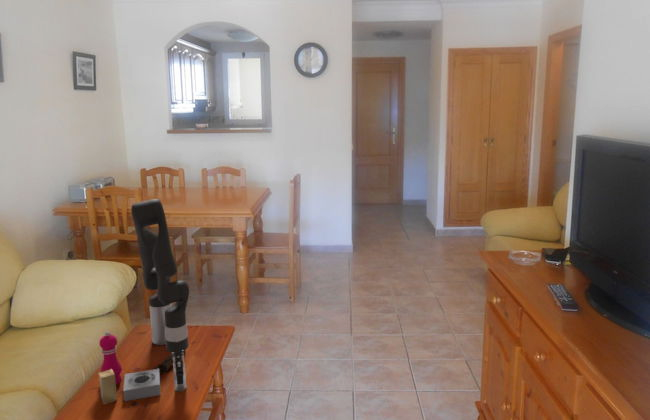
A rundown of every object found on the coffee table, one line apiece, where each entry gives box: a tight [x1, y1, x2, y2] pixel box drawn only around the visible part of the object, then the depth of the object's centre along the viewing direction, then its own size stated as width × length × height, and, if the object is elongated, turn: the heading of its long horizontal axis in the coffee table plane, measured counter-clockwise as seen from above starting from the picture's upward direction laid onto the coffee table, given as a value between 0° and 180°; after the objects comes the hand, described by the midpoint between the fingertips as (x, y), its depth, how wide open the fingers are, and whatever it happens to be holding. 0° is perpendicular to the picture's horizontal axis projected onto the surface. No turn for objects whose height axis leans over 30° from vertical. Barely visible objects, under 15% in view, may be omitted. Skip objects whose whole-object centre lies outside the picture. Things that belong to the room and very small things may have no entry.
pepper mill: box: [99, 331, 123, 385], centre depth 185 cm, size 7×7×20 cm
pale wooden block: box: [98, 369, 118, 405], centre depth 175 cm, size 4×4×10 cm
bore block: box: [122, 368, 161, 402], centre depth 182 cm, size 12×12×4 cm
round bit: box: [172, 361, 187, 392], centre depth 181 cm, size 4×4×10 cm
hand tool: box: [156, 349, 187, 374], centre depth 201 cm, size 19×4×5 cm, turn 166°
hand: (180, 379), depth 182 cm, fingers open, 5 cm apart
